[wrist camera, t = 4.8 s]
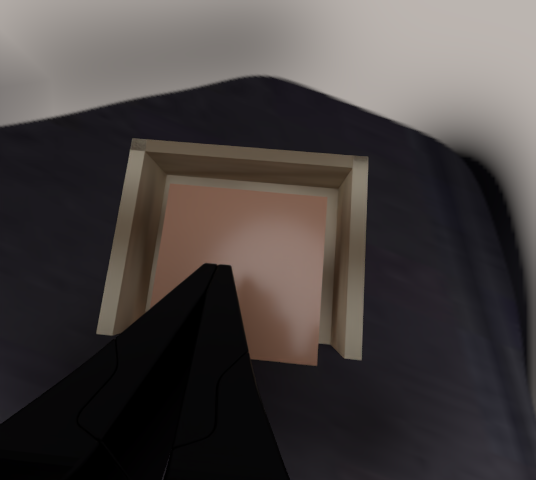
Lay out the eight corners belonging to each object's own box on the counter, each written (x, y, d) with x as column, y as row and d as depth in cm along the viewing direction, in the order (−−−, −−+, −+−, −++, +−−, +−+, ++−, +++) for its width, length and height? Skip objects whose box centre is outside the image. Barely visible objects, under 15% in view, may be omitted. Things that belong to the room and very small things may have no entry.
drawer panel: (316, 365, 13) (327, 197, 14) (143, 347, 13) (169, 183, 14) (311, 356, 14) (321, 206, 15) (157, 341, 14) (180, 193, 16)
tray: (342, 344, 15) (361, 360, 11) (133, 323, 15) (96, 334, 12) (349, 182, 16) (368, 157, 13) (159, 166, 16) (132, 138, 13)
